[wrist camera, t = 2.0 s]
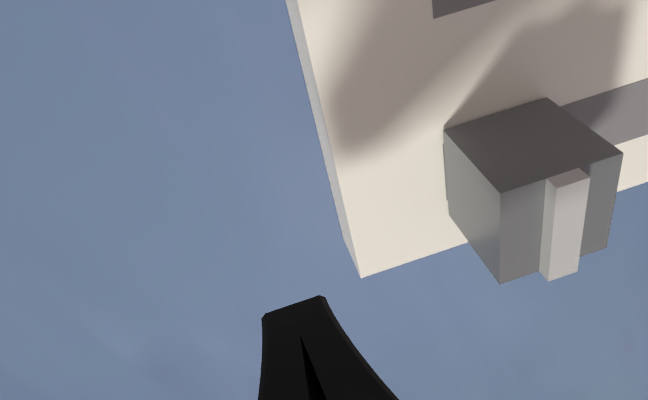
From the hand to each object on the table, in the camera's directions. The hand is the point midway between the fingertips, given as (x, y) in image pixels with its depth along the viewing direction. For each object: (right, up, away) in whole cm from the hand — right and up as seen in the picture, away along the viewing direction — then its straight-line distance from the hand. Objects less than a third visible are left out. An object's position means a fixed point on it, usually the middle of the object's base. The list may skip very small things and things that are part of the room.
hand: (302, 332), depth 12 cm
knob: (+5, +4, +3) cm, 8 cm away
